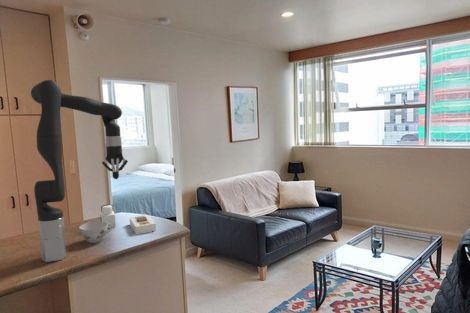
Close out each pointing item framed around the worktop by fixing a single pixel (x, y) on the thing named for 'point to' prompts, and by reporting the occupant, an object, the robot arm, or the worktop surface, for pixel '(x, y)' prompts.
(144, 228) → the key panel
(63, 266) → the worktop surface
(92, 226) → the teacup
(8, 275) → the worktop surface
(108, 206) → the medicine bottle
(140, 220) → the tile two
